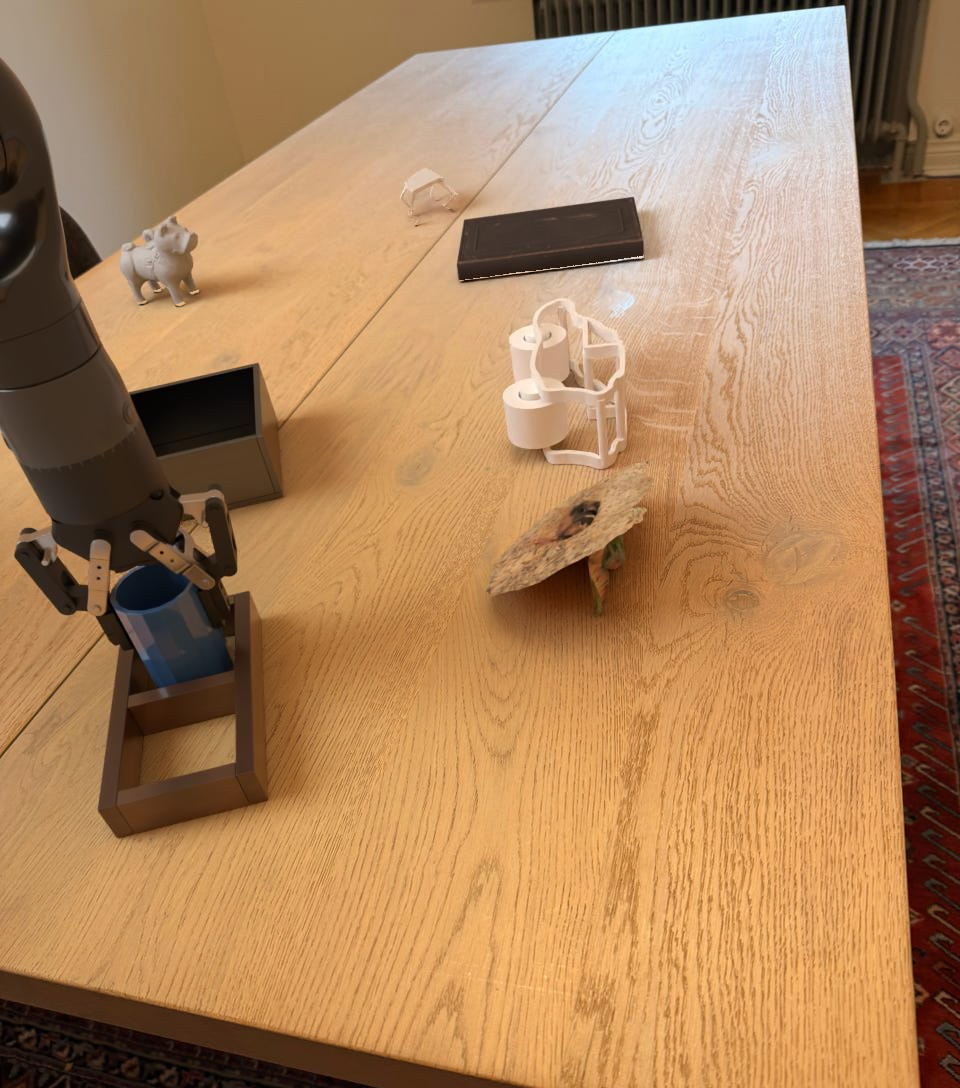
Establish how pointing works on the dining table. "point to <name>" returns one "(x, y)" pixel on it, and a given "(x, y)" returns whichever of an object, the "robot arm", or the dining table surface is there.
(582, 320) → the toilet paper holder
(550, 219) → the hardcover book
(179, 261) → the dog figurine
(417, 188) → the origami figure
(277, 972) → the dining table surface
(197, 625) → the cup
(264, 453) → the open box
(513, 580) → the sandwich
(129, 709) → the rack
